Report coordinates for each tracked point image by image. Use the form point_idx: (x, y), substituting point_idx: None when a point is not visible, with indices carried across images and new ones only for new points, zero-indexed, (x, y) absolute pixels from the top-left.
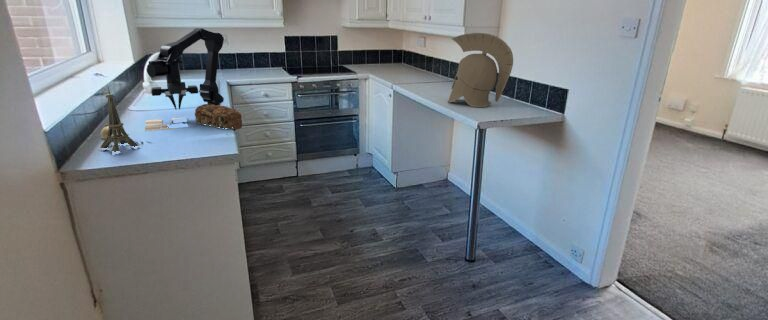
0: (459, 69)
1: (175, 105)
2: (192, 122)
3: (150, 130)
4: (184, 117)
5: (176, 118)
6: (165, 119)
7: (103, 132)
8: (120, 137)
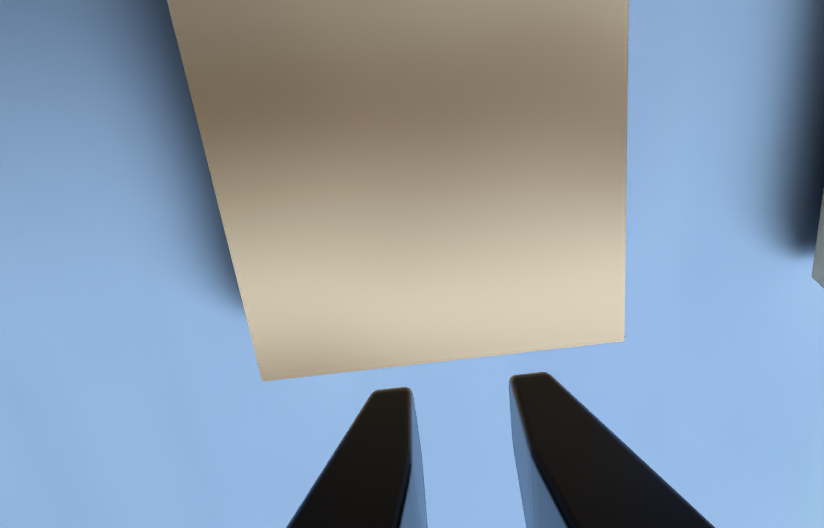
0: None
1: (564, 481)
2: (134, 188)
3: None
4: (320, 369)
5: (508, 320)
6: (709, 513)
7: None
8: None
